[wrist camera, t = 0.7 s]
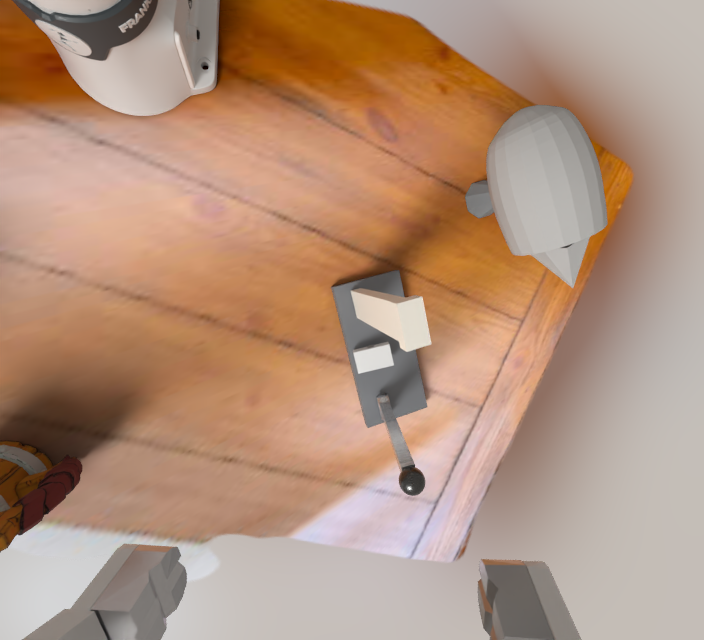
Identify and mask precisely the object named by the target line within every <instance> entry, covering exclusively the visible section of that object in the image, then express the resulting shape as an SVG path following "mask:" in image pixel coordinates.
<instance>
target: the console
mask: <svg viewBox="0 0 704 640" xmlns="http://www.w3.org/2000/svg"><path fill="white" fill-rule="evenodd" d="M331 288H332V292H333V296H334V300H335V304H336V308H337V312H338V316H339V320H340V324H341V328H342V332H343V336H344V340H345V344H346V348H347V352H348V356H349V360H350V364H351V368H352V372H353V376H354V380H355V384H356V388H357V392H358V396H359V400H360V404H361V408H362V412H363V416H364V420H365V424H366V425H367V427H368V428H369V427H372V426H375V425H378V424H381V423H383V422H384V421H383V420H382V419H381V415H380V411H379V407H378V402H377V398H376V396H377V395H378V394H381V393H387V394H388V396H389V400H390V405H391V408H392V410H393V413H394V415H395V418H398V417H400V416H403V415H406V414H409V413H412V412H415V411H418V410H420V409H423V408H426V407H427V403H426V398H425V393H424V388H423V384H422V379H421V374H420V369H419V364H418V359H417V355H416V350H412V351H409V352H406V351H404V350H403V349H401V348H400V345H399V341H397V340H395V339H394V338H392V337H390V336H388V335H386V334H385V333H383V332H381V331H379V330H378V329H376V328H374V327H372V326H370V325H369V324H367V323H365V322H363V321H362V320H360V319H358V318H357V316H356V312H355V307H354V303H353V299H352V295H351V290H355V289H359V288H363V289H368V290H372V291H377V292H382V293H386V294H391V295H396V296H400V297H405V296H404V292H403V287H402V282H401V277H400V272H399V270H394V271H390V272H386V273H382V274H379V275H375V276H371V277H367V278H363V279H360V280H356V281H352V282H348V283H344V284H340V285H337V286H333V287H331ZM384 342H389V345H390V349H391V354H392V358H393V363H394V365H393V366H389V367H385V368H381V369H376V370H372V371H368V372H364V373H360V374H358V370H357V366H356V362H355V358H354V354H353V350H355V349H359V348H363V347H367V346H369V345H376V344H380V343H384Z"/></svg>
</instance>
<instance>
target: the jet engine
mask: <svg viewBox="0 0 704 640" xmlns="http://www.w3.org/2000/svg"><path fill="white" fill-rule="evenodd" d="M486 170H487V181H486V180H483V181H479V182H476V183H472V184H471V186H470V188H469V190H468V192H467V194H466V196H465V199H466V204H467V208H468V211H469V212H470V213H472V214H473V215H475V216H476V217H477V218H482V217H485V216H488V215H491V214H492V213H493V212H494V213H495V216H496V218H497V221H498V223H499V226H500V228H501V230H502V233H503V236H504V238H505V240H506V243H507V245H508V247H509V249H510V251H511V253H512V254H514V255H520V256H524V255H532V256H533V257H534V258H536V259H537V260H538V261H539V262H541V263H542V264H543V265H544V266H546V267H547V268H548V269H549V270H551V271H552V272H553V273H555V274H556V275H557V276H558V277H560V278H561V279H562V280H563V281H565V282H566V283H567V284H568V285H570V286H571V287H572V288H573V287H574V284H575V281H576V278H577V275H578V272H579V268H580V265H581V262H582V259H583V256H584V253H585V250H586V247H587V244H588V241H589V238H590V236H592V235H594V234H596V233H597V232H599V231H601V230H602V229H604V228H605V226H606V225H607V211H606V202H605V196H604V189H603V181H602V176H601V172H600V167H599V163H598V160H597V157H596V154H595V151H594V149H593V146H592V144H591V141H590V139H589V137H588V135H587V133H586V132H585V130H584V128H583V126H582V125H581V123H580V122H579V121H578V119H577V118H576V117H575V115H574V114H573V113H571V112H570V111H569V110H568V109H566V108H563V107H556V106H548V105H536V106H530V107H526V108H523V109H521V110H519V111H517V112H516V113H514V114H513V115H512V116H511V117H510V118H509V119H508V120H507V121H506V122H505V123H504V124H503V125H502V127H501V128H500V129H499V131H498V132H497V134H496V135H495V137H494V138H493V140H492V142H491V143H490V145H489V148H488V152H487V161H486Z"/></svg>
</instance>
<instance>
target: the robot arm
mask: <svg viewBox="0 0 704 640" xmlns="http://www.w3.org/2000/svg"><path fill="white" fill-rule="evenodd" d="M12 1H13V2H14V3H15V4H16V5H17V6H18V7H19V8H20V9H21V10H22V11H23V12H24V13H25V14H26V15H27V16H28V17H29V18H30V19H31V20H32V21H33V22H34V23H35V24H36V25H37V26H38V27H39V28H40V29H41V30H42V31H43V32H44V33H45V34H47V36H48V37H49V38H50V40H51V42H52V43H53V45H54V46H55V48H56V49H57V51H58V53H59V55H60V56H61V58H62V60H63V62H64V64H65V66H66V68H67V69H68V71H69V73H70V74H71V76H72V77H73V79H74V80H75V81H76V82H77V84H78V85H79V86H80V87H81V88H82V89H83V90H84V91H85V92H86V93H87V94H88V95H90V96H91V97H92V98H94V99H95V100H96V101H98V102H99V103H101V104H103V105H105V106H106V107H108V108H111V109H113V110H115V111H118V112H121V113H125V114H129V115H136V116H150V115H157V114H161V113H164V112H166V111H169V110H171V109H173V108H174V107H176V106H177V105H179V104H180V103H181V102H182V101H184V100H185V99H186V98H188V97H190V96H192V95H196V94H201V93H205V92H209V91H211V90H213V89H214V88H215V86H216V83H217V60H218V30H219V0H12ZM205 65H206V66H208V67H209V68H208V69H207V70H204V69H202V67H203V66H205ZM180 556H181V554H180V552H179V549H178V547H168V546H151V545H137V544H123V545H122V546H121V547H119V548H118V549H117V550H116V551H115V552H114V554H113V555H112V556H111V557H110V559H109V560H108V561H107V563H106V564H105V565H104V567H103V568H102V569H101V570H100V572H99V573H98V574H97V575H96V577H95V578H94V579H93V580H92V582H91V583H90V584H89V586H88V587H87V588H86V589H85V591H84V592H83V593H82V595H81V596H80V597H79V598H78V600H77V601H76V602H75V604H74V605H73V606H72V608H71V609H65V610H63V611H61V612H60V613H59V614H57V615H56V616H55V617H53V618H52V619H50V620H49V621H47V622H46V623H45V624H43V625H42V626H41V627H39V628H38V629H36V630H35V631H34V632H32V633H31V634H29V635H28V636H27V637H25V638H24V639H22V640H161V638H162V636H163V634H164V632H165V630H166V618H167V617H168V616H169V615H170V614H171V613H172V612H173V611H175V610H176V609H177V607H178V605H179V603H180V601H181V599H182V597H183V594H184V590H185V587H186V583H187V573H186V570H185V567H184V566H183V565H182V564H180V563H179V562H178V560H179V558H180ZM479 571H480V575H481V579H480V580H479V581H478V602H479V608H480V614H481V619H482V623H483V628H484V629H485V631H486V632H487V633H488V634H489V636H490V640H581V638H580V636H579V633H578V631H577V629H576V627H575V624H574V622H573V620H572V618H571V616H570V613H569V611H568V609H567V607H566V605H565V603H564V601H563V598H562V596H561V594H560V592H559V589H558V587H557V585H556V583H555V580H554V578H553V576H552V574H551V572H550V570H549V567H548V566H547V565H546V564H545V563H544V562H541V561H539V562H538V561H521V560H489V559H481V561H480V564H479Z"/></svg>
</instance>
